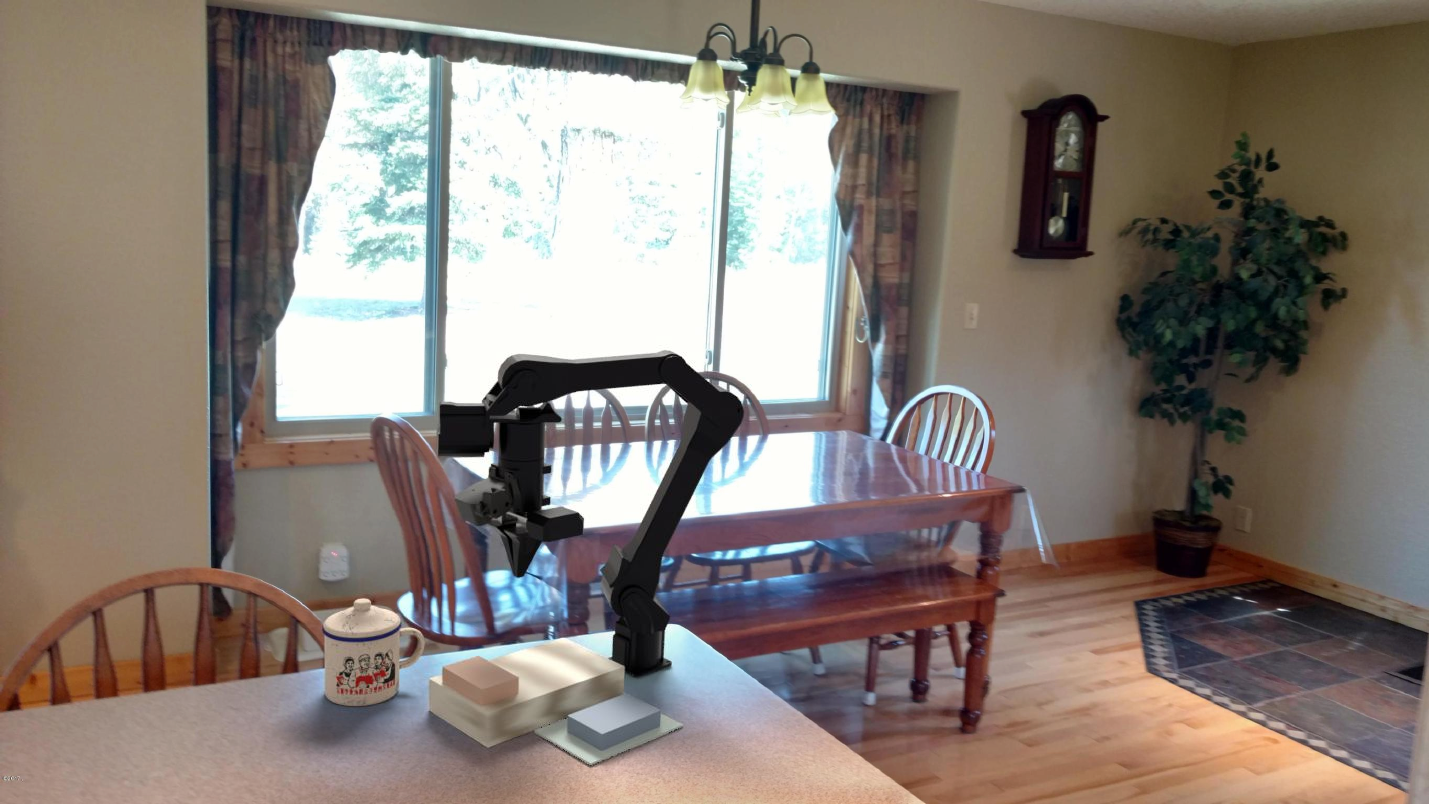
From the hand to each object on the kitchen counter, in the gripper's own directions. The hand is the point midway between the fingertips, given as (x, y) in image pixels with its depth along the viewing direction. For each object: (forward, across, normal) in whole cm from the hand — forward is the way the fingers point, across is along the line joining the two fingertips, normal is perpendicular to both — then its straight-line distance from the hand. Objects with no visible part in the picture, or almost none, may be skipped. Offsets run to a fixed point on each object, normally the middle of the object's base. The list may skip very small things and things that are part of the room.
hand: (518, 576), depth 136 cm
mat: (+13, +20, -1) cm, 23 cm away
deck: (+13, +8, -4) cm, 16 cm away
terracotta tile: (+9, +8, -11) cm, 16 cm away
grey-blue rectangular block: (+11, +20, -1) cm, 23 cm away
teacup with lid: (+13, -7, -16) cm, 22 cm away
